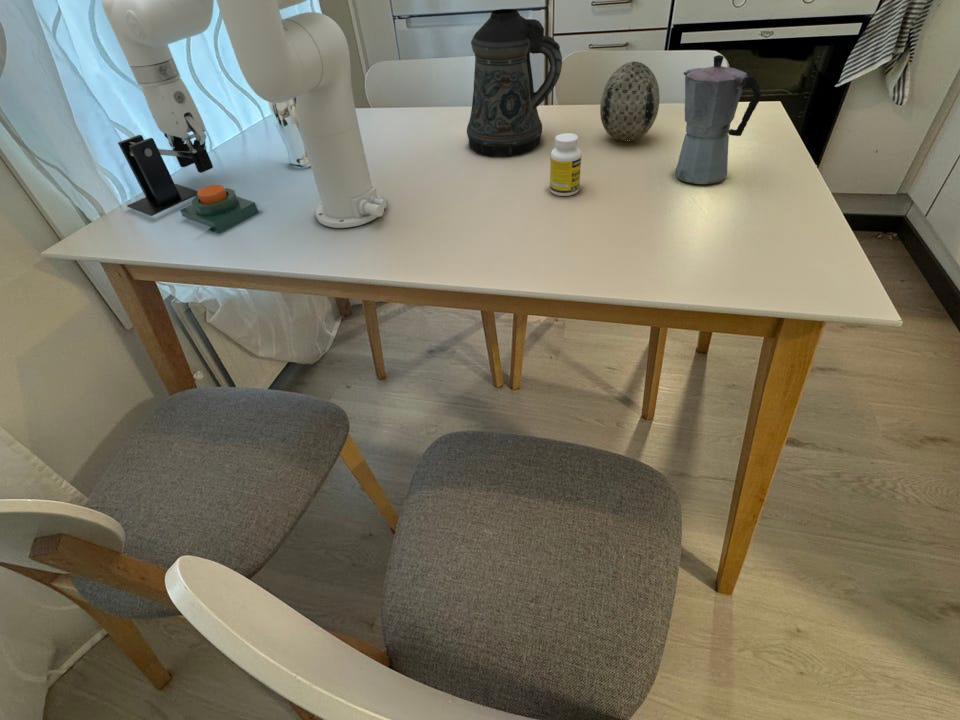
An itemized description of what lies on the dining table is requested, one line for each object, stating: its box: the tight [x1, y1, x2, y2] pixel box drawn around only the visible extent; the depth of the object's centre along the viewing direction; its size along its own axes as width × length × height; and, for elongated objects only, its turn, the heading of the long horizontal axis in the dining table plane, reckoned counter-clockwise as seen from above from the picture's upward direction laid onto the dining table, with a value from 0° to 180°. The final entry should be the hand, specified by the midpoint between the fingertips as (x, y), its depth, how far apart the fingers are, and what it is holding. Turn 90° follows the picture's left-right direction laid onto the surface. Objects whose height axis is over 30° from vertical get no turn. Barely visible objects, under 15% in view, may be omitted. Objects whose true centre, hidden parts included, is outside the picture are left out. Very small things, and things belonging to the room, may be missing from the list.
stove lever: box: [129, 142, 192, 158], centre depth 108 cm, size 12×6×2 cm, turn 145°
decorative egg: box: [599, 61, 661, 143], centre depth 112 cm, size 12×12×15 cm
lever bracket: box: [117, 134, 199, 217], centre depth 107 cm, size 11×9×13 cm
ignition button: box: [196, 184, 227, 204], centre depth 102 cm, size 5×5×2 cm
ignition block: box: [180, 187, 259, 235], centre depth 103 cm, size 11×9×4 cm
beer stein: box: [466, 8, 563, 158], centre depth 113 cm, size 16×19×25 cm
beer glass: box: [267, 98, 311, 169], centre depth 117 cm, size 7×7×15 cm
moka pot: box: [675, 54, 762, 185], centre depth 95 cm, size 10×15×20 cm, turn 36°
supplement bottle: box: [549, 132, 582, 197], centre depth 98 cm, size 5×5×10 cm
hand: (196, 166), depth 113 cm, fingers closed on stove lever, 5 cm apart
